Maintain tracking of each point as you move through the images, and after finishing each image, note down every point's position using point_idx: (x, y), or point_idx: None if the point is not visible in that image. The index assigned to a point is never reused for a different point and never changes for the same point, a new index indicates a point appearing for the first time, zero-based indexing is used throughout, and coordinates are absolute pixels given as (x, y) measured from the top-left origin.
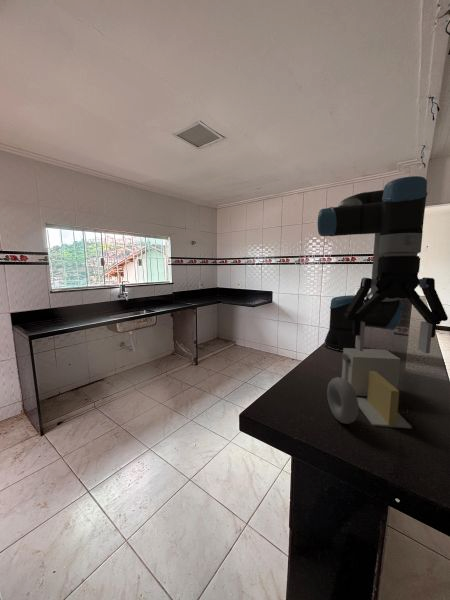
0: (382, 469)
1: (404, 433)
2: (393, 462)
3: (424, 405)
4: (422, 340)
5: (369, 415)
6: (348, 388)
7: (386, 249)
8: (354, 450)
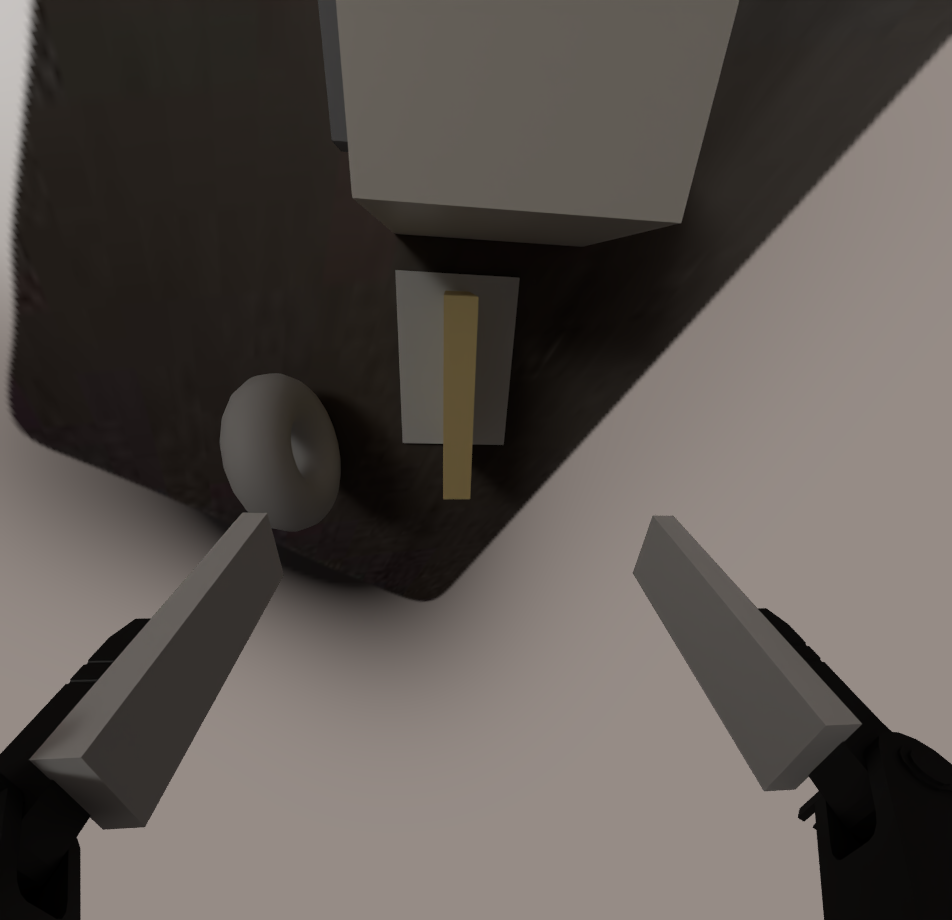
0: (367, 566)
1: None
2: (396, 549)
3: (643, 302)
4: (681, 597)
5: (409, 401)
6: (277, 527)
7: None
8: (327, 529)
